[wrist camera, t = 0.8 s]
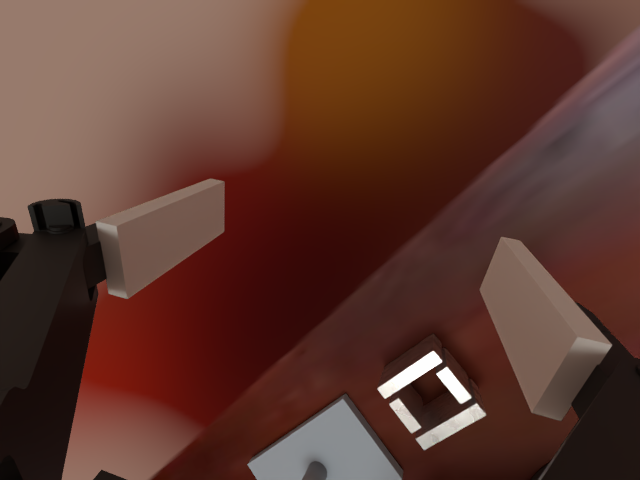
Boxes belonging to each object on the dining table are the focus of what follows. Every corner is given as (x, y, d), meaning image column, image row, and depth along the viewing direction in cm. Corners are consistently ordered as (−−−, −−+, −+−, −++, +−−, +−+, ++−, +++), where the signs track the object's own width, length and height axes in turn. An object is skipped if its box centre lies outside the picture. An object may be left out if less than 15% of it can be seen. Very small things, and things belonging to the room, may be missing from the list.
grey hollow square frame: (478, 387, 38) (486, 415, 33) (425, 418, 40) (424, 450, 35) (433, 333, 40) (433, 350, 34) (384, 366, 42) (377, 388, 36)
